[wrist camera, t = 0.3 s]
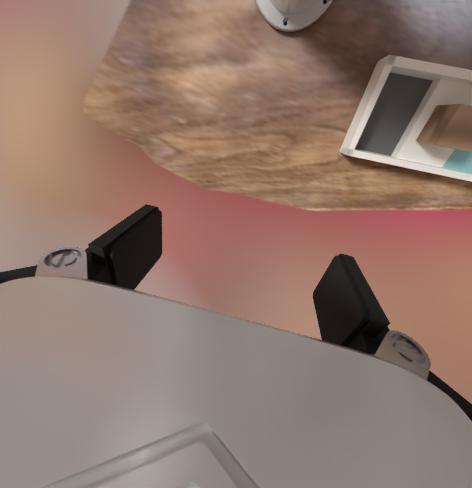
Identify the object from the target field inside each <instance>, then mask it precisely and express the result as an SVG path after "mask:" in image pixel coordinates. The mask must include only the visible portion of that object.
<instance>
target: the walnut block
mask: <svg viewBox="0 0 472 488" xmlns="http://www.w3.org/2000/svg"><path fill="white" fill-rule="evenodd" d="M416 141H418V142H423V143H428V144H433V145H438V146H443V147H448V148H453V149H458V150H464V151H469V152H470V151H471V149H472V106H470V105H465V104H451V105H437V106H436V108H435V109H434V111H433V113H432V114H431V116H430V118H429V119H428V121H427V123H426V124H425V126H424V128H423V129H422V131H421V133H420V134H419V136H418V138H417V139H416Z"/></svg>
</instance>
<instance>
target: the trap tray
mask: <svg viewBox="0 0 472 488" xmlns="http://www.w3.org/2000/svg"><path fill="white" fill-rule="evenodd" d="M451 104H465V105H470V106H472V70H469V69H463V68H458V67H453V66H448V65H442V64H437V63H432V62H426V61H421V60H416V59H410V58H405V57H400V56H395V55H388V56H386V57H384V58H382V59H381V60H379V61H377V64H376V66H375V68H374V71H373V73H372V75H371V78H370V80H369V82H368V85H367V87H366V90H365V92H364V94H363V97H362V99H361V101H360V104H359V106H358V109H357V111H356V113H355V116H354V118H353V120H352V123H351V125H350V128H349V130H348V132H347V135H346V137H345V139H344V142H343V144H342V147H341V149H340V151H339V152H341V153H343V154H345V155H348V156H353V157H357V158H362V159H367V160H372V161H376V162H381V163H386V164H391V165H395V166H400V167H405V168H409V169H414V170H419V171H424V172H428V173H433V174H438V175H443V176H447V177H452V178H457V179H462V180H466V181H471V182H472V149H471V151H470V152H469V151H464V150H458V149H453V148H448V147H443V146H438V145H433V144H428V143H423V142H418V141H416V139H417V138H418V136H419V134H420V133H421V131H422V129H423V128H424V126H425V124H426V123H427V121H428V119H429V118H430V116H431V114H432V113H433V111H434V109H435V108H436V106H437V105H451Z"/></svg>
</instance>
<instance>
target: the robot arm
mask: <svg viewBox="0 0 472 488" xmlns="http://www.w3.org/2000/svg"><path fill="white" fill-rule="evenodd" d="M323 1H324V0H255V2H256V4H257V6H258V9H259V11H260V13H261V14H262V16H263V17H264V19H265V20H266V21H267V22H268V23H269V24H270V25H271V26H273V27H274V28H276V29H278V30H281V31H285V32H294V31H298V30H302V29H304V28H306V27H308V26H310V25H311V24H312V23H314V22H315V21H316V20H317V19H319V18H320V17H321V15H322V14H323V13H324V12H325V11H326V10H327V8H328V7H329V5H330V4H331V3H332V1H333V0H326V4H323ZM284 22H287V25H286V26H285V25H284ZM161 254H162V213H161V211H159V209H158V207H155V206H151V205H145V206H143V207H142V208H140V209H139V210H137V211H136V212H134V213H133V214H131V215H130V216H129V217H127V218H126V219H124V220H123V221H121V222H120V223H118V224H117V225H116V226H114V227H113V228H111V229H110V230H108V231H107V232H106V233H104V234H103V235H101V236H100V237H98V238H97V239H95V240H94V241H92V242H91V243H90V244H89V248H87V249H86V250H83V249H82V248H79V247H72V246H71V247H61V248H57V249H54V250H51V251H49V252H47V253H45V254H44V255H43V256H41V257H40V259H39V261H38V265H36V266H31V267H26V268H21V269H16V270H11V271H6V272H0V488H472V404H471V403H469V402H468V401H467V400H466V399H464V398H463V397H462V396H461V395H459V394H458V393H457V392H456V391H454V390H453V389H452V388H450V386H448V385H447V384H446V383H445V382H443V381H442V380H441V379H440V378H438V377H437V376H436V375H435V374H433V373H432V372H431V371H430V370H429V369H430V359H429V357H428V355H427V353H426V352H425V350H424V349H423V348H422V347H421V346H420V345H419V344H418V343H417V342H416V341H414V340H413V339H412V338H410V337H409V336H407V335H406V334H404V333H401V332H399V331H394V330H393V331H390V330H389V329H388V327H387V326H388V325H389V324H390V322H389V321H388V319H387V317H386V315H385V314H384V312H383V310H382V308H381V306H380V305H379V303H378V301H377V299H376V297H375V295H374V294H373V292H372V290H371V288H370V286H369V285H368V283H367V281H366V279H365V277H364V276H363V274H362V272H361V270H360V268H359V267H358V265H357V263H356V261H355V259H354V258H353V257H352V256H348V255H344V254H339V255H338V256H335V257H334V258H333V260H332V262H331V263H330V265H329V267H328V268H327V270H326V272H325V274H324V275H323V277H322V278H321V280H320V282H319V284H318V285H317V287H316V289H315V290H314V293H313V299H314V304H315V309H316V314H317V319H318V324H319V328H320V333H321V338H322V340H320V339H316V338H312V337H308V336H305V335H301V334H298V333H294V332H290V331H287V330H283V329H279V328H275V327H272V326H268V325H265V324H261V323H257V322H253V321H250V320H246V319H242V318H238V317H235V316H231V315H227V314H223V313H220V312H216V311H212V310H208V309H205V308H201V307H197V306H193V305H189V304H186V303H182V302H178V301H174V300H170V299H166V298H162V297H159V296H155V295H151V294H147V293H143V292H139V291H135V290H134V289H135V288H136V287H137V285H138V284H139V283H140V281H141V280H142V279H143V278H144V277H145V276H146V274H147V273H148V272H149V271H150V269H151V268H152V267H153V266H154V264H155V263H156V262H157V261H158V259H159V258H160V256H161Z"/></svg>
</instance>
